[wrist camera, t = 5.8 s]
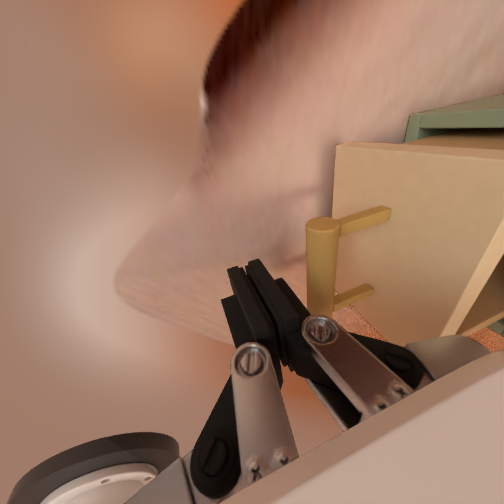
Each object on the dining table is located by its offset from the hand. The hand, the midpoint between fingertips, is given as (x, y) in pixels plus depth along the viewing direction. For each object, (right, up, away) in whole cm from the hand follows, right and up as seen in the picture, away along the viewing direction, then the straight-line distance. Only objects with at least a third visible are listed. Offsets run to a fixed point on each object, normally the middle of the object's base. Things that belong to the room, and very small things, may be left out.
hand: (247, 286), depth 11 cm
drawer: (+10, +5, +5) cm, 12 cm away
